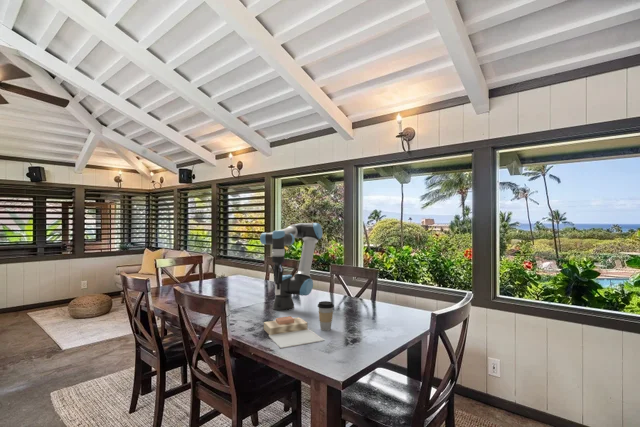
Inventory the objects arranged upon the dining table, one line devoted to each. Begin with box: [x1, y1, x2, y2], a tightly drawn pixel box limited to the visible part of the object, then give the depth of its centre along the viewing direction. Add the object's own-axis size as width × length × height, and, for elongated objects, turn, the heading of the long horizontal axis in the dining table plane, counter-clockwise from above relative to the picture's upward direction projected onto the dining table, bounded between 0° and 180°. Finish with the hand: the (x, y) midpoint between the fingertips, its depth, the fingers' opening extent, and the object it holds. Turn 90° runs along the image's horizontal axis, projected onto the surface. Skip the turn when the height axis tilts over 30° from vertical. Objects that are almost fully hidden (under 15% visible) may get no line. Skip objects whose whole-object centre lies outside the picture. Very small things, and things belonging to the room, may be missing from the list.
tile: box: [275, 316, 295, 325], centre depth 185 cm, size 9×6×2 cm, turn 117°
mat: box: [268, 328, 325, 349], centre depth 171 cm, size 24×19×1 cm
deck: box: [263, 317, 309, 336], centre depth 184 cm, size 22×12×4 cm, turn 117°
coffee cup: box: [317, 300, 335, 332], centre depth 186 cm, size 9×9×15 cm
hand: (277, 294), depth 197 cm, fingers closed
